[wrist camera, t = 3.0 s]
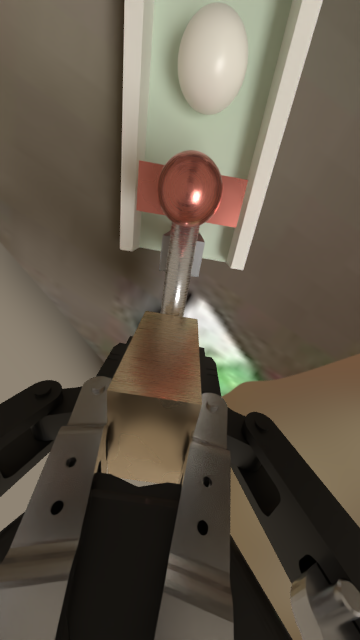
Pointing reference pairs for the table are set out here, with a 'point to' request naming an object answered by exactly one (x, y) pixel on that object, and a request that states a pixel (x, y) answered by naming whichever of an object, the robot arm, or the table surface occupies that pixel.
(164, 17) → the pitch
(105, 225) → the table surface
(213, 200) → the striker
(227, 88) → the ball
